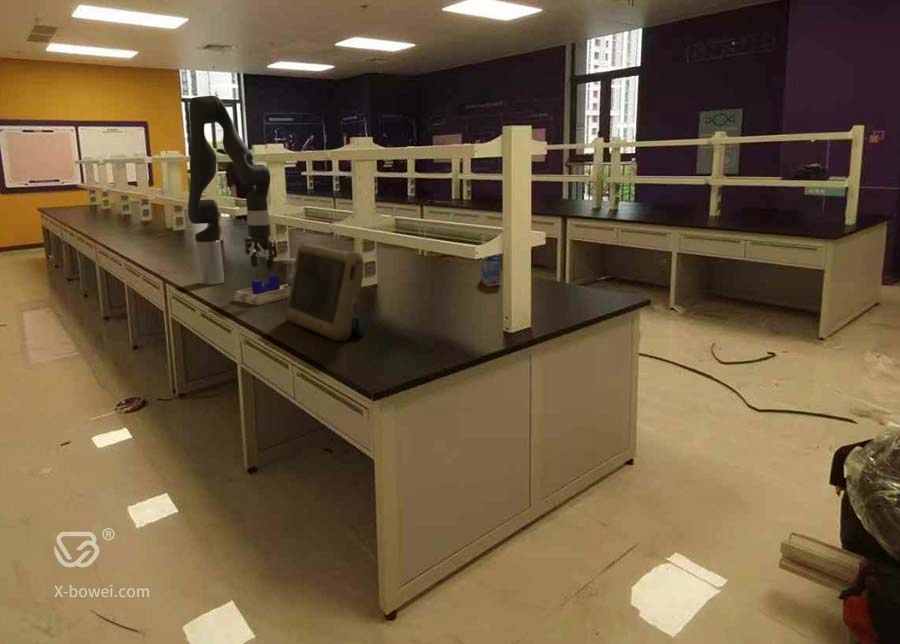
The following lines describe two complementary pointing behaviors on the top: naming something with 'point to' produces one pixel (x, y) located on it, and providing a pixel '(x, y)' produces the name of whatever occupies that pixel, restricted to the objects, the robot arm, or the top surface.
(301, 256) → the tablet
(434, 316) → the top surface
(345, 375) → the top surface
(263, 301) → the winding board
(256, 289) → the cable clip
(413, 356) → the top surface
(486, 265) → the ink cartridge box
